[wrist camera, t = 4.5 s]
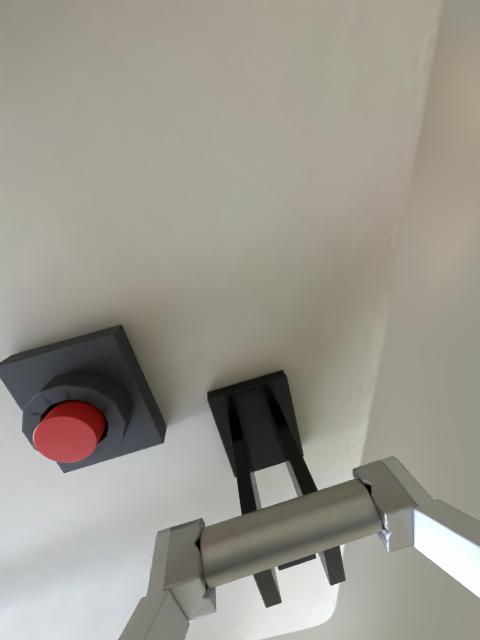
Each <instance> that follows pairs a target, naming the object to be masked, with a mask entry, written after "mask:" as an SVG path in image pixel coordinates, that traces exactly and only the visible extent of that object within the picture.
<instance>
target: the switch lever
mask: <svg viewBox="0 0 480 640" xmlns="http://www.w3.org/2000/svg"><path fill="white" fill-rule="evenodd" d="M382 528H383V526H382V522H381V519H380V515H379V513H378V510H377V508H376V506H375V503H374V501H373V499H372V496H371V494H370V493H369V491H368V489H367V488H366V487H365V485H364V484H363V483H362V482H361V481H360V480H359V479H353V480H350V481H347V482H344V483H340V484H337V485H334V486H331V487H328V488H325V489H322V490H319V491H316V492H313V493H309V494H306V495H303V496H300V497H297V498H294V499H291V500H288V501H285V502H281V503H278V504H275V505H272V506H269V507H266V508H263V509H260V510H257V511H254V512H250V513H247V514H244V515H241V516H238V517H235V518H232V519H229V520H226V521H223V522H219V523H216V524H213V525H210V526H207V527H204V528H203V529H202V532H201V537H200V553H201V559H202V567H203V572H204V577H205V582H206V584H207V586H208V587H209V588H214V587H217V586H220V585H223V584H226V583H229V582H232V581H235V580H238V579H241V578H244V577H247V576H250V575H253V574H256V573H259V572H262V571H265V570H267V569H270V568H273V567H276V566H278V569H279V570H283V569H286V568H289V567H292V566H295V565H298V564H301V563H304V562H307V561H310V560H313V559H315V558H316V555H315V553H318V552H321V551H324V550H327V549H330V548H333V547H336V546H339V545H342V544H345V543H348V542H351V541H354V540H357V539H360V538H363V537H366V536H369V535H372V534H375V533H378V532H381V531H382Z"/></svg>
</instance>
